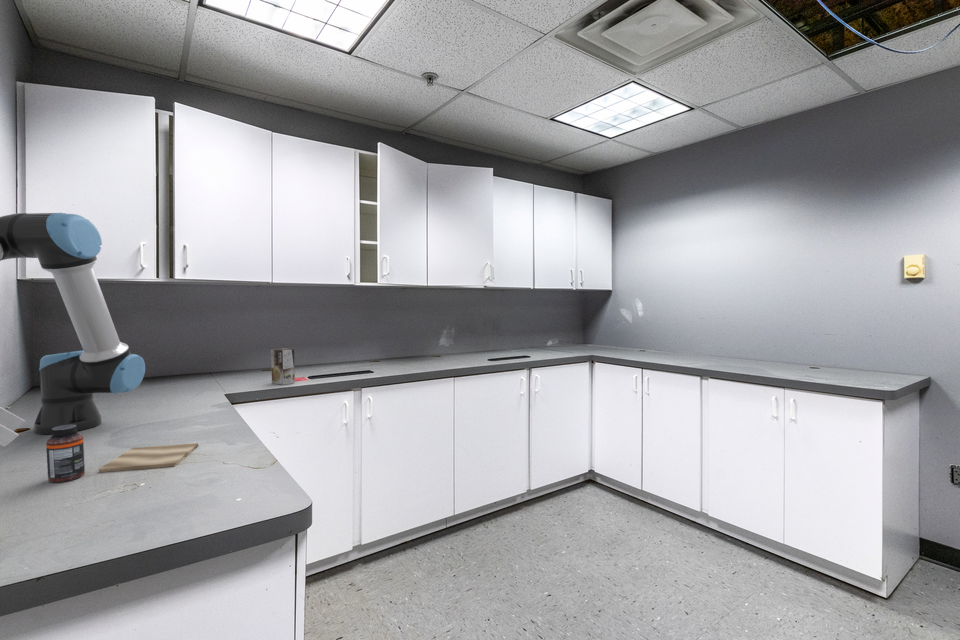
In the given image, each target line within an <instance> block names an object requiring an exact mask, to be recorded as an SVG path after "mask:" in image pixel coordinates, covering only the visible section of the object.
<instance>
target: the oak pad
mask: <svg viewBox="0 0 960 640" xmlns="http://www.w3.org/2000/svg"><path fill="white" fill-rule="evenodd" d="M197 446H198V447H199V443H198V442H196V443H183V444H171V445H170V444H169V445H154V446H141V447H140V446H139V447H132V448H130V449H128V450H127V451H125V452H124V453H122V454H121V455H119V456H118V457H116V458H114V459H112V460H111V461H109V462H107V463H106V464H105V465H103V466H102V467H100V468H98V473H106V472H107V473H109V472H121V471H135V470H145V469H146V470H147V469H157V468H160V467H161V468H170V467H169V466H173V467H176V466H177V465H178V464H180V463H181V462H182V461H183V460H184V459H185V458H187V457H188V456H189V455H190V454H191V453H193V452H194V451H195V450H196V449H197V448H198V447H197ZM196 447H197V448H196ZM195 448H196V449H195ZM194 449H195V450H194ZM190 452H191V453H190ZM189 453H190V454H189ZM188 454H189V455H188ZM187 455H188V456H187ZM184 457H185V458H184ZM183 458H184V459H183ZM182 459H183V460H182ZM181 460H182V461H181ZM180 461H181V462H180ZM176 464H177V465H176ZM175 465H176V466H175Z"/></svg>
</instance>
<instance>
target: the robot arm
mask: <svg viewBox="0 0 960 640" xmlns="http://www.w3.org/2000/svg"><path fill="white" fill-rule="evenodd" d="M102 244H103V241H102V236H101V234H100V231H99V230H98V228H97V227H96V226H95V224H93V222H91V221H90V220H89V219H87V218H85V217H84V216H82V215H79V214H76V213H66V212H44V213H42V212H41V213H40V212H38V213H36V212H35V213H32V212H31V213H25V212H24V213H22V212H20V213H19V212H18V213H12V214H6V215H2V216H0V262H1V261H5V260H9V259H10V260H11V259H25V258H26V259H38V262H39V264H40V267H41V269H42V270H44V271H47V272H48V273H51V274H52V276H53V279H54V282H55V283H56V286H57V288H58V291H59V293H60V295H61V299H62V301H63V304H64V306H65V309H66V311H67V313H68V316H69V318H70V321H71V323H72V325H73V328H74V330H75V332H76V336H77V338H78V341H79V342H80V344H81V348H82V350H76V351H75V350H74V351H70V352H69V351H68V352H60V353H55V354H46V355H44V356H42V357H41V358H40V360H39V368H38V369H39V370H38V372H39V385H40V386H39V388H40V399H41V403H40V404H41V405H40V408H39V411H38V414H37V416H36V419H35V421H34V424H33V432H34V433H35V434H37V433H39V434H40V435H52V428H54V427H57V426H62V425H77V432H79V431H82V430H86V429H90V428H91V429H92V428H93V427H94V428H95V427H96V426H99V425H101V424H102V415H101V413H100V411H99V408H98V407H97V404H96V403H95V400H94V394H115V395H118V394H124V393H126V394H127V393H129V392H133V391H134V390H136V389H137V388H138V387H139V386H140V384H141V383H142V382H143V379H144V377H145V374H146V373H145V372H146V364H145V360H144V358H143V357H142V356H140V355H139V354H135V353H131V351H130V348H129V345H128V344H127V343H124V342H122V341H120V338H119V335H118V332H117V331H116V330H117V329H116V327H115V325H114V322H113V319H112V316H111V314H110V311H109V308H108V305H107V302H106V300H105V298H104V294H103V291H102V289H101V286H100V284H99V281H98V280H99V279H98V278H97V275H96V273H95V270H94V267H93V266H94V265H95V264H96V262H98V259H97V255H98V254H100V252H101V249H102V247H101V246H102ZM25 422H26V420H24V419H23V418H21V417H19V416H18V415H15V414H14V413H13V412H11V411H9V410H7V409H5V408H3V407H1V406H0V445H1V446H2V447H3V448H6V446H8V445H9V444H11V443H12V441H14V440H15V439H17V437H19V435H20V434H19V433H17V432H15V431H16V430H17V429H18V428H19V427H20V426H21V425H23V424H24V423H25ZM39 434H38V435H39Z"/></svg>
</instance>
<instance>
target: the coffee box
mask: <svg viewBox="0 0 960 640" xmlns="http://www.w3.org/2000/svg"><path fill="white" fill-rule="evenodd" d="M270 361H271V362H270V363H271V366H270V367H271V384H275V385H289V384H295V383H296V382H295V381H296V380H295V379H296V378H295V377H296V376H295V375H296V374H295V373H296V372H295V348H285V347H283V348H282V347H281V348H273V349H270Z"/></svg>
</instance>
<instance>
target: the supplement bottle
mask: <svg viewBox="0 0 960 640" xmlns="http://www.w3.org/2000/svg"><path fill="white" fill-rule="evenodd" d="M45 445H46V448H45V450H46V464H47V479H48V481H49V482H51V483H65V482H70V481H73V480H76V479H78V478H81V477H82V476H83V475H84V474H85V473H86V472H85V471H86V470H85V469H86V468H85V465H86V464H85V450H84V449H85V445H84V437H83V434H81V433H78V431H77V425H62V426H57V427H54V428H52V434H51V437H50V438H48V440H47V441H46V443H45Z"/></svg>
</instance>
